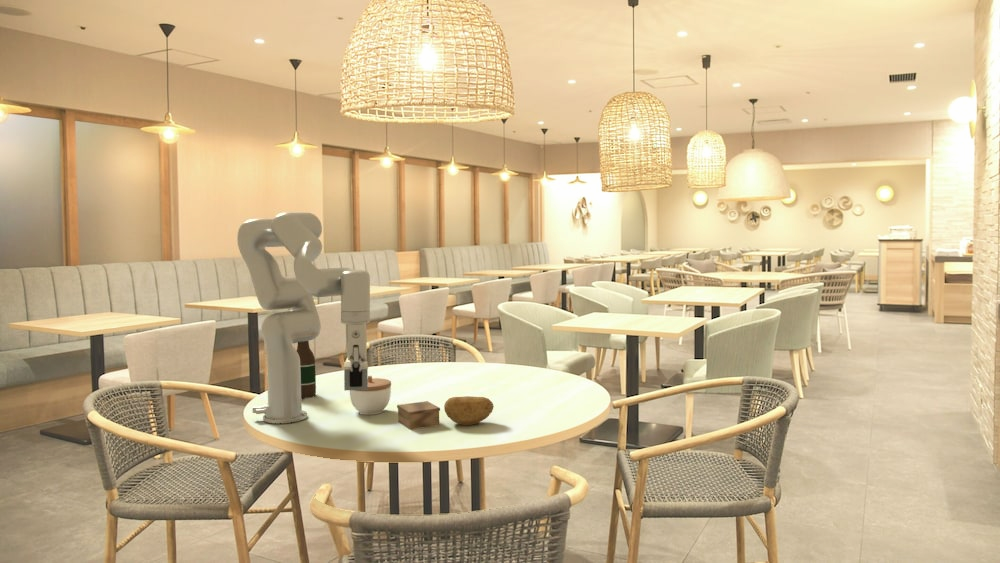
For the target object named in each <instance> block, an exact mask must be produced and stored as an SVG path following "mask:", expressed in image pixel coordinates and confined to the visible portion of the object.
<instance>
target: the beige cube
mask: <svg viewBox="0 0 1000 563" xmlns="http://www.w3.org/2000/svg"><path fill="white" fill-rule="evenodd" d="M368 369H369V365H368V361H361V371H362V386H361V387H350V372H351V362H350V361H344V362H343V371H344V376H343V377H344V382H343V383H344V386H343V387H344V388H343V389H344V391H350V390H368V376H369V375H368V374H369V373H368Z"/></svg>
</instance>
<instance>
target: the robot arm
mask: <svg viewBox="0 0 1000 563" xmlns="http://www.w3.org/2000/svg"><path fill="white" fill-rule="evenodd" d="M322 226H323V225H322V223H321V220H320V219H319V218H318V217H317V216H316V215H315V214H314V213H311V212H293V211H291V212H289V211H288V212H282V213H279V214H277V215H276V216H275V217H273V218H253V219H248V220H246V221H244V222H243V223H241V225H240V226H239V228H238V231H237V241H236V242H237V247H238V250H239V253H240V255H241V257H242V260H243V261H244V263H245V264H246V267H247V269H248V271H249V274H250V278H251V282H252V286H253V288H254V292H255V295H256V299H257V301H258V304H259V306H260V307H261V308H262V309H263V310H265V311H278V310H288V309H290V310H289V311H280V312H279V311H278V312H274V313H271V314H269V315H267V316H266V317H265V318H264V319H263V321H262V324H261V335H262V339H263V343H264V348H265V357H266V360H265V361H266V362H265V363H266V380H267V403H266V404H264V405H263V406H258V405H257V406H255V405H254V406H252V414H256V415H261V414H264V415H263V416H262V420H263V422H265V423H268V424H275V423H276V424H278V425H279V424H280V423H281V424H291V422H292V423H297V422H301V421H303V420H306V419H307V417H308V412H307V411H305V410H303V408H302V406H303V405H302V404H303V403H302V398H301V370H300V357H299V355H298V353H297V351H296V350H297V349H296V348H295V347H294V344H296V343H297V344H298V342H304V341H309V342H310V341H312V340H315V339H317V338H318V336H319V335H320V332H321V327H322V326H321V319H320V316H319V313H318V309H317V306H316V303H315V300H314V297H316V298H328V297H336V296H337V297H338V296H339V297H340V323H341V324H344V325H345V345H346V355H347V361H348V362H351V372H350V387H361V386H362V371H361V362H362V360H363V362H366V361H367V359H368V358H367V343H368V342H367V338H368V336H367V324H369V323H370V322H371V299H370V298H371V293H370V292H371V287H370V286H371V278H370V277H371V276H370V273H369V272H368V271H366V270H363V269H362V270H360V269H353V268H352V269H351V268H349V267H332V268H330V267H329V268H318V267H317V266H315V265H314V264H313V262H314V261H315V260H317V259H318V258H319V256H320V255H321V253H322V250H323V244H322V241H321V240H320V237H321V234H322V231H323V227H322ZM278 247H282V248H285V249H286V250H287V251H288V253H290V255H291V256H293V258H294V259H293V260H294V261H293V271H294V275H295V276H283V274H282V272H281V269H280V267H279V266H280V265H279V263H278V261H277V260H276V258H275V257H274V256H273V255H272V254H271V253H270V252H269V251H267V249H266V248H278Z"/></svg>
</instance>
